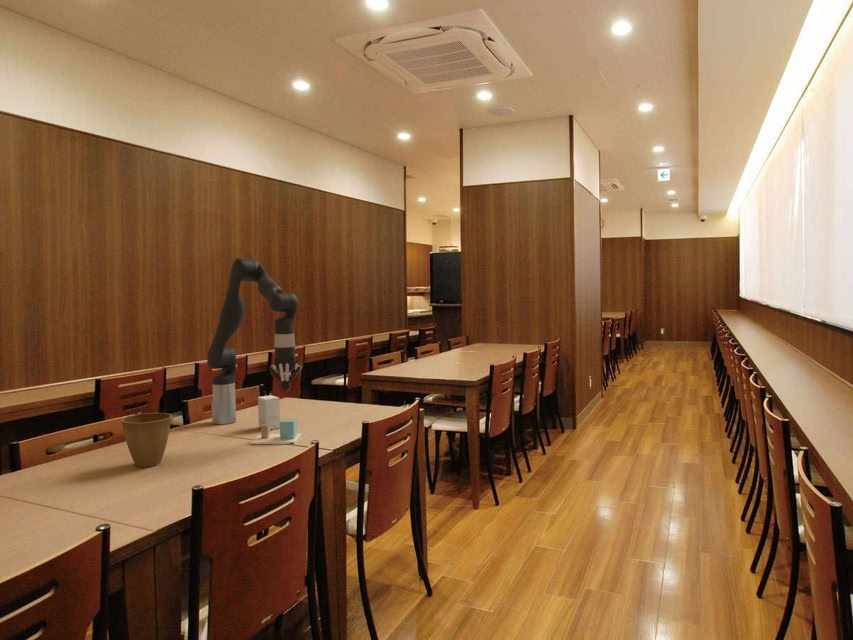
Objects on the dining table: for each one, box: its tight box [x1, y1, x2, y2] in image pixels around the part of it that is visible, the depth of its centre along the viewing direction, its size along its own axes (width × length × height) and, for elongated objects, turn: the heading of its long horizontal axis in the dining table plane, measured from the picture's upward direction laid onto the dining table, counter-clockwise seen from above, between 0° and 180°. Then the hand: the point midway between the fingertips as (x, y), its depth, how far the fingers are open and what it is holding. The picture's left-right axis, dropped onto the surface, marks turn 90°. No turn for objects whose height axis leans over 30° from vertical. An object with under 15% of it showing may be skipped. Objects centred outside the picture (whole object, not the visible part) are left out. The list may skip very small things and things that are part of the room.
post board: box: [251, 424, 302, 445], centre depth 217 cm, size 16×12×6 cm
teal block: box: [279, 418, 298, 439], centre depth 217 cm, size 5×5×7 cm
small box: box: [257, 394, 281, 431], centre depth 237 cm, size 8×6×13 cm
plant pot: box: [121, 412, 172, 468], centre depth 189 cm, size 15×15×16 cm
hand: (286, 390), depth 217 cm, fingers closed
